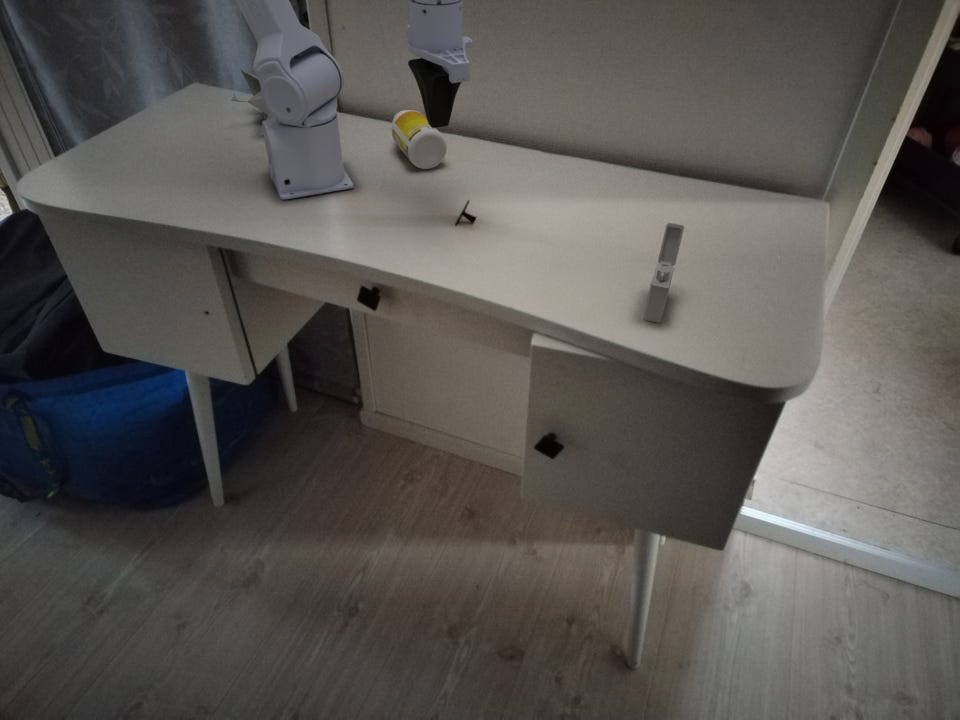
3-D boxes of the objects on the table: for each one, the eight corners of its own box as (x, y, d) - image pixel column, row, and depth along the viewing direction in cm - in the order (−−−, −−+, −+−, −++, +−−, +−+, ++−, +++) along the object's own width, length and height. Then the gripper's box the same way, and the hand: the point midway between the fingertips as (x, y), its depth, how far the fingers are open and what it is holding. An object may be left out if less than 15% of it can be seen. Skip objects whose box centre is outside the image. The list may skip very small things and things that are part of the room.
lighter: (660, 323, 71) (675, 255, 66) (643, 319, 72) (657, 252, 67) (670, 285, 76) (685, 220, 71) (654, 282, 77) (668, 217, 72)
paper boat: (308, 123, 105) (247, 119, 100) (295, 150, 110) (236, 148, 105) (285, 58, 108) (225, 51, 103) (273, 87, 113) (215, 82, 108)
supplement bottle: (452, 134, 95) (427, 107, 102) (415, 128, 92) (391, 100, 99) (442, 173, 98) (417, 144, 105) (405, 168, 95) (382, 138, 102)
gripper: (498, 12, 70) (494, 144, 79) (446, -21, 80) (448, 99, 89) (431, 19, 68) (435, 153, 77) (387, -16, 78) (394, 106, 87)
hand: (438, 125), depth 83 cm, fingers closed
